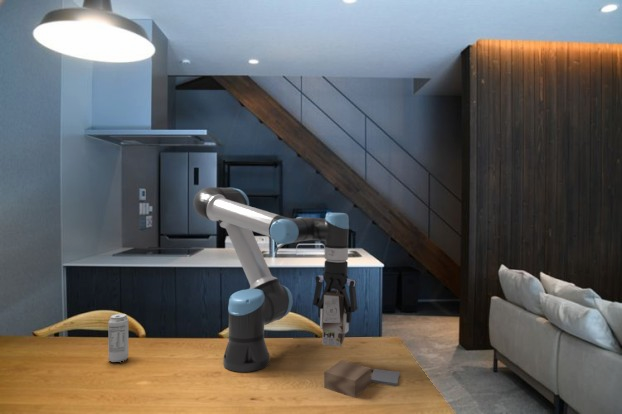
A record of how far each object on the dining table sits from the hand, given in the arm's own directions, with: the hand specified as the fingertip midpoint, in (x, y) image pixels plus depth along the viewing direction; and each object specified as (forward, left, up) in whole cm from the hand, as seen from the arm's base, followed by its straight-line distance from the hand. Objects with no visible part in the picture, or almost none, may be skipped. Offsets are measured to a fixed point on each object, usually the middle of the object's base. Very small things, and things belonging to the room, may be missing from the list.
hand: (334, 329), depth 130 cm
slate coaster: (+18, -1, -12) cm, 21 cm away
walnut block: (+10, -11, -12) cm, 19 cm away
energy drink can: (-65, -31, -12) cm, 73 cm away
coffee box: (0, 0, -4) cm, 4 cm away
